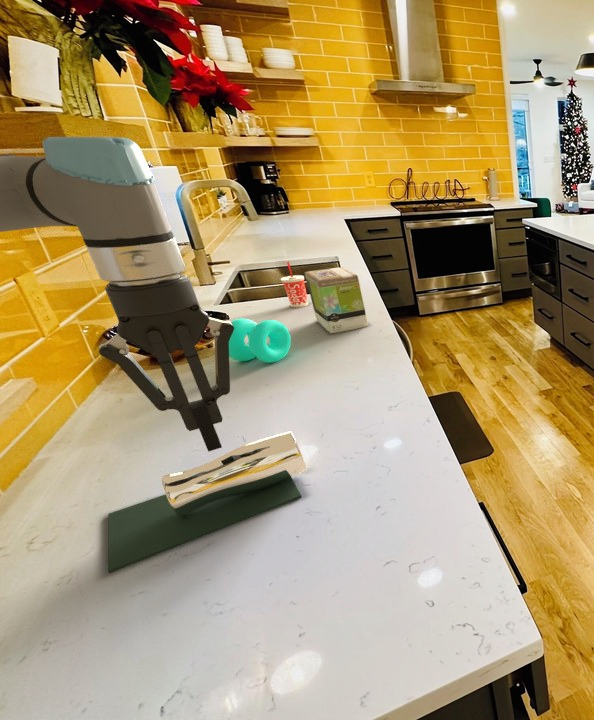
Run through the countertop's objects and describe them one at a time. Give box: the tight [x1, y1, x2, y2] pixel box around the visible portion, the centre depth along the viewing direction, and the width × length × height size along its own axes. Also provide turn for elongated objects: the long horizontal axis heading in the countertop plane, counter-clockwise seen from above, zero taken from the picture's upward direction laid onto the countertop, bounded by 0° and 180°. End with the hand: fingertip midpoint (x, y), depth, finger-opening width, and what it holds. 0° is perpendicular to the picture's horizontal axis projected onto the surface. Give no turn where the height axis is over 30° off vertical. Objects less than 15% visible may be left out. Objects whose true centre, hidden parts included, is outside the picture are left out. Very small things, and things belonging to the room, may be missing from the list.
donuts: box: [229, 318, 292, 364], centre depth 116 cm, size 10×10×10 cm
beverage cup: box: [280, 261, 309, 308], centre depth 155 cm, size 6×6×14 cm
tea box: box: [304, 266, 369, 334], centre depth 139 cm, size 15×10×15 cm
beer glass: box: [161, 430, 308, 517], centre depth 72 cm, size 7×7×15 cm
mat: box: [107, 477, 303, 574], centre depth 70 cm, size 14×20×1 cm
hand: (213, 445), depth 69 cm, fingers closed
